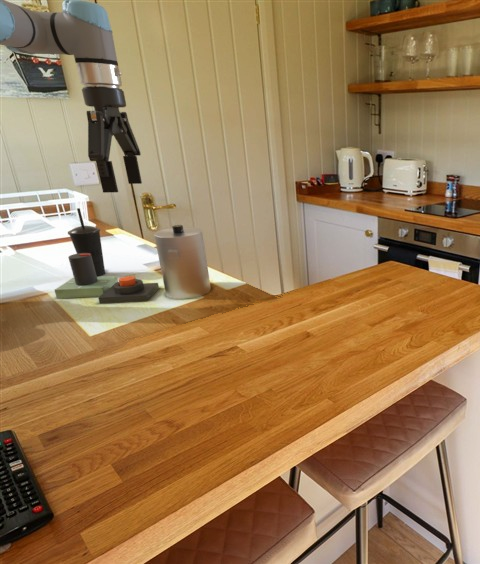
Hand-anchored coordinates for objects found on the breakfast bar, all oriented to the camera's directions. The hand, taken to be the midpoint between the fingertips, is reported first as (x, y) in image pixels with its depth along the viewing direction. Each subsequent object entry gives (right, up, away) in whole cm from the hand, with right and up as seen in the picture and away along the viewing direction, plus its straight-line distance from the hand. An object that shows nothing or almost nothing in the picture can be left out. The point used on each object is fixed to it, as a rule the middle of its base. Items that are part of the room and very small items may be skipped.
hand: (123, 187), depth 98 cm
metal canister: (+7, -25, +17) cm, 31 cm away
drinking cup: (-27, -20, +29) cm, 44 cm away
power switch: (-7, -23, +12) cm, 26 cm away
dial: (-19, -22, +15) cm, 33 cm away
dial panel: (-19, -25, +16) cm, 35 cm away
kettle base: (-7, -26, +13) cm, 30 cm away
